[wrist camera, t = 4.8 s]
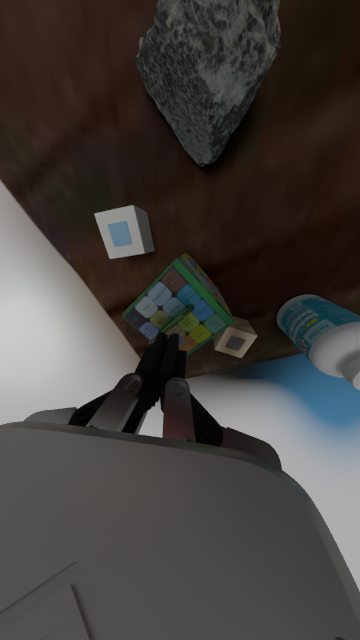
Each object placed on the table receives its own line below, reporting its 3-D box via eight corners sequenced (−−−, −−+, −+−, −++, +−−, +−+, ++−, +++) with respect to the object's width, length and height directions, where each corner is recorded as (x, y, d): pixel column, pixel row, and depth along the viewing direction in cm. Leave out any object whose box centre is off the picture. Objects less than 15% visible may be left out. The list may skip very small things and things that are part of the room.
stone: (131, 57, 8) (342, -178, 5) (111, -4, 11) (246, -189, 8) (185, 203, 17) (277, 145, 14) (167, 150, 20) (242, 91, 17)
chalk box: (183, 321, 28) (172, 388, 16) (149, 288, 26) (100, 334, 13) (222, 291, 25) (249, 346, 12) (186, 248, 22) (171, 259, 9)
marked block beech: (247, 320, 27) (257, 336, 22) (235, 340, 29) (241, 358, 25) (222, 312, 27) (227, 327, 22) (212, 333, 29) (214, 350, 25)
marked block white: (147, 212, 21) (132, 204, 16) (154, 250, 23) (144, 253, 18) (115, 219, 21) (93, 213, 17) (125, 255, 24) (108, 259, 19)
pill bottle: (282, 292, 24) (364, 343, 12) (331, 292, 23) (471, 347, 11) (269, 330, 27) (323, 398, 16) (312, 332, 27) (402, 404, 15)
